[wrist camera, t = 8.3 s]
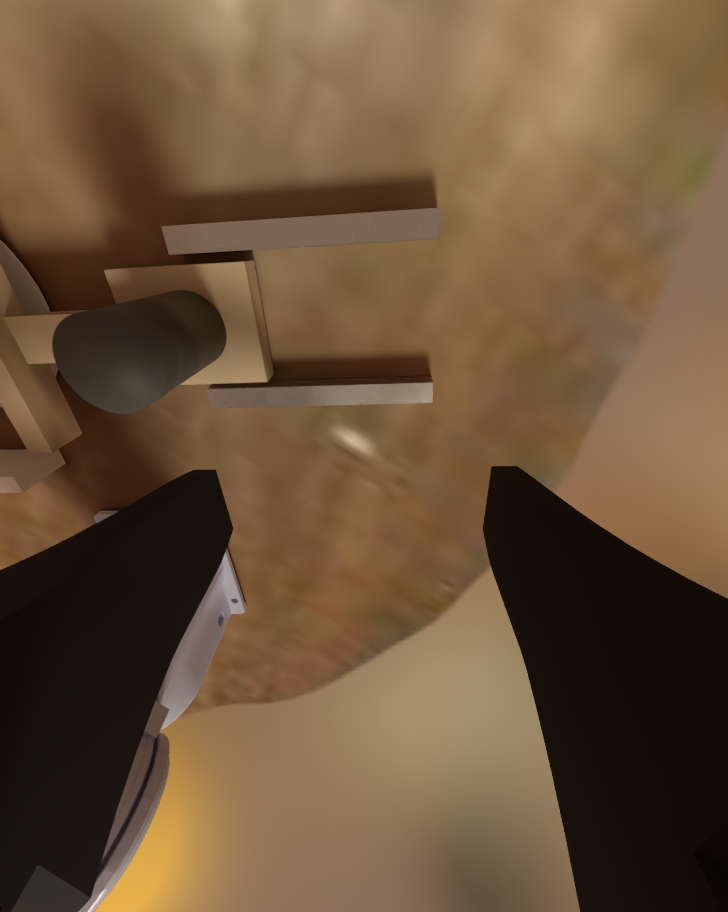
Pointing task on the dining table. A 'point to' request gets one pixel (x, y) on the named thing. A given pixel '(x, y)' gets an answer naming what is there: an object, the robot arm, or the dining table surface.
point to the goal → (26, 468)
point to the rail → (302, 235)
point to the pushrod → (130, 345)
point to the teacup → (23, 287)
